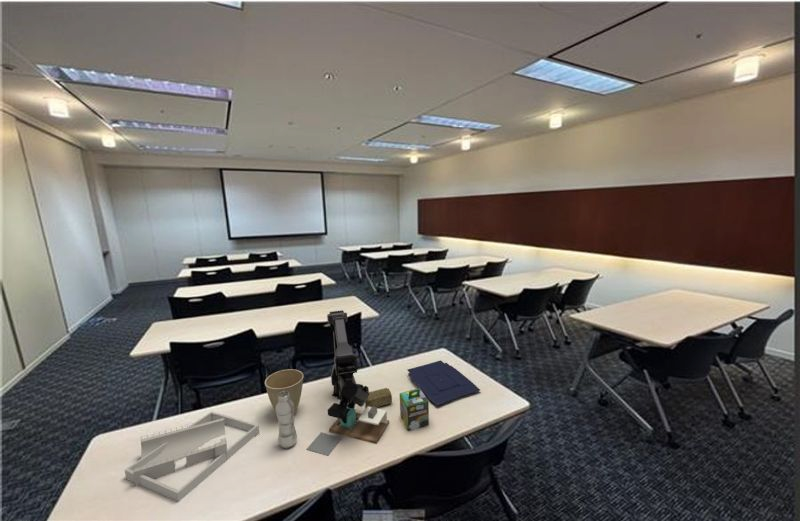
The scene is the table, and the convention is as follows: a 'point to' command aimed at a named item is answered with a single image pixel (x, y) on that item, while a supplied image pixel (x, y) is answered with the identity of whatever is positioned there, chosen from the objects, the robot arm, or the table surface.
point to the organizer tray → (206, 471)
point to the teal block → (349, 419)
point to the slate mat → (324, 444)
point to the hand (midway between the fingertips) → (348, 419)
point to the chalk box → (414, 409)
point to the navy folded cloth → (441, 382)
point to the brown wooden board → (360, 430)
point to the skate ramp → (181, 448)
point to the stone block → (379, 398)
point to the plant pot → (285, 386)
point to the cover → (373, 416)
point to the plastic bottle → (286, 420)
